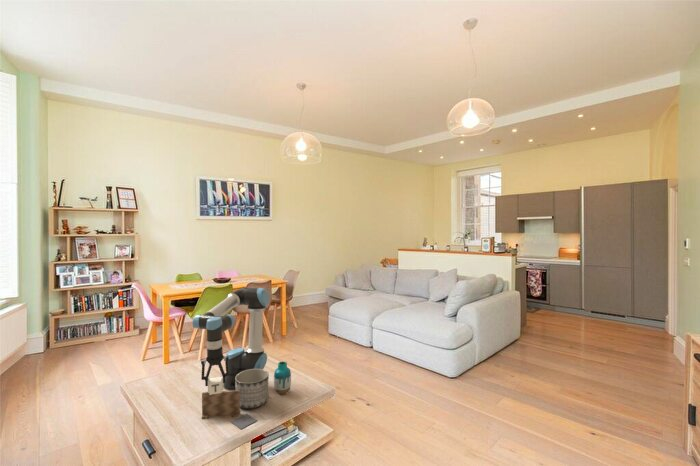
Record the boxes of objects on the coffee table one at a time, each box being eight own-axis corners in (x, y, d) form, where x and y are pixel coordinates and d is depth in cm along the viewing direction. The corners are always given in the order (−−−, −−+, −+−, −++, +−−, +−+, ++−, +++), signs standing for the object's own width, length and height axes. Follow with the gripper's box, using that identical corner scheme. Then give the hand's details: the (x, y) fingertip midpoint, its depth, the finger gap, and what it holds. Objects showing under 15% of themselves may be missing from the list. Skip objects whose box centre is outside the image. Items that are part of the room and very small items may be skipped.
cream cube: (209, 389, 176) (209, 378, 175) (221, 387, 178) (221, 376, 177) (209, 395, 170) (209, 383, 170) (221, 393, 172) (221, 381, 172)
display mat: (230, 422, 177) (230, 421, 177) (246, 414, 185) (246, 413, 185) (241, 429, 171) (241, 428, 171) (257, 420, 179) (257, 420, 179)
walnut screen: (200, 418, 181) (200, 395, 180) (204, 412, 187) (204, 390, 186) (238, 416, 183) (238, 393, 183) (240, 410, 189) (240, 388, 189)
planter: (250, 415, 184) (250, 386, 184) (228, 405, 194) (228, 377, 194) (275, 399, 200) (275, 373, 200) (253, 391, 210) (253, 366, 210)
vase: (287, 397, 203) (287, 367, 202) (271, 396, 205) (271, 365, 204) (293, 389, 213) (293, 360, 212) (278, 387, 215) (278, 359, 215)
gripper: (194, 352, 166) (195, 397, 167) (234, 347, 173) (234, 390, 174) (195, 347, 173) (196, 390, 174) (233, 342, 180) (234, 383, 181)
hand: (215, 390), depth 174 cm, fingers closed on cream cube, 6 cm apart
